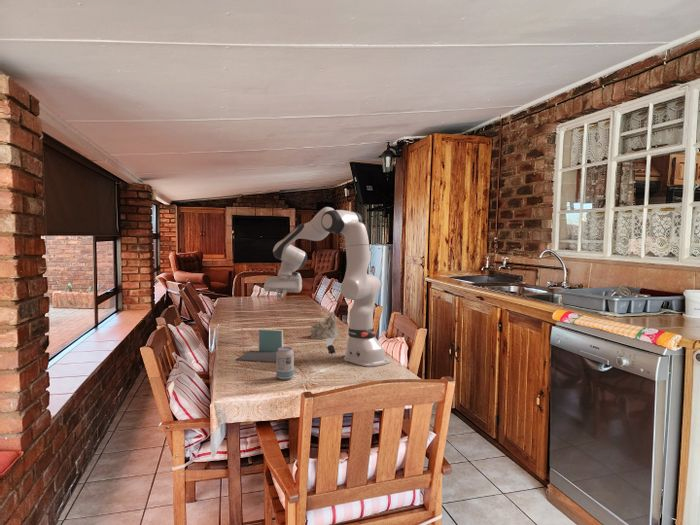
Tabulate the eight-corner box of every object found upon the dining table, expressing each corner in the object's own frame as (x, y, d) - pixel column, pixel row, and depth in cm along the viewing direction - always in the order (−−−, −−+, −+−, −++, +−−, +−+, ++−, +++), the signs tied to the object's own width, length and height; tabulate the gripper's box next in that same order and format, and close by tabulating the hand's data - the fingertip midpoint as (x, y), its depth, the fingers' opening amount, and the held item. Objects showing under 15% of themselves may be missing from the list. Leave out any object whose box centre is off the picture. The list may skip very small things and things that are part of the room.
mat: (250, 351, 218) (250, 350, 218) (289, 353, 214) (289, 352, 214) (236, 360, 202) (235, 359, 202) (277, 363, 198) (277, 361, 198)
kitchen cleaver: (316, 338, 245) (334, 336, 245) (317, 341, 245) (335, 339, 246) (317, 353, 214) (338, 350, 214) (317, 356, 214) (338, 354, 214)
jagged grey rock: (340, 333, 260) (338, 308, 258) (336, 340, 244) (334, 314, 242) (314, 334, 262) (312, 309, 260) (308, 341, 245) (307, 315, 244)
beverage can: (294, 375, 181) (294, 346, 180) (292, 381, 174) (292, 351, 173) (277, 375, 180) (277, 346, 180) (275, 381, 174) (275, 351, 173)
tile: (260, 350, 220) (260, 328, 219) (283, 351, 218) (283, 329, 217) (258, 351, 218) (258, 329, 217) (281, 353, 216) (281, 330, 215)
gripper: (265, 272, 237) (258, 292, 228) (302, 273, 233) (296, 294, 224) (269, 280, 242) (262, 300, 233) (304, 280, 238) (299, 301, 229)
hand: (279, 297), depth 228 cm, fingers closed
